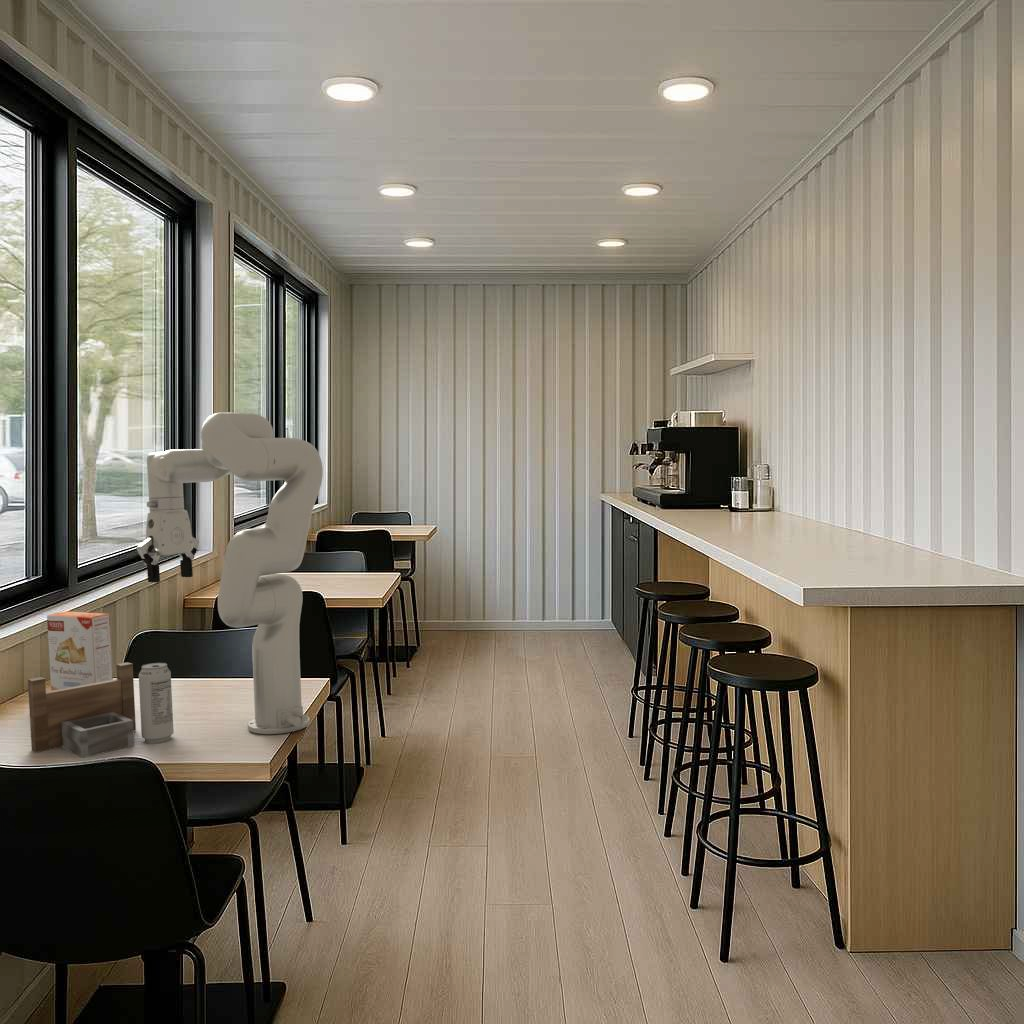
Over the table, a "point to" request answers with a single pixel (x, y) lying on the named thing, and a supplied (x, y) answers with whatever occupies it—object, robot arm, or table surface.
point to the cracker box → (79, 648)
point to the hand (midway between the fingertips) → (170, 579)
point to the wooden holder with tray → (84, 715)
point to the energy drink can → (156, 702)
